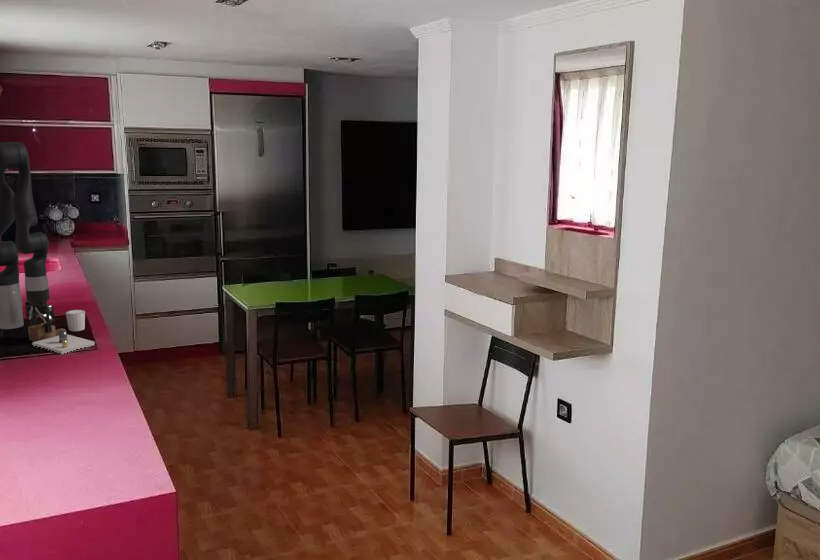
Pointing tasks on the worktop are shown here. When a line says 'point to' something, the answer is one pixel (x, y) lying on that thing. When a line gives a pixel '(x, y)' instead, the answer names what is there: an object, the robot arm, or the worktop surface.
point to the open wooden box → (41, 332)
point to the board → (56, 346)
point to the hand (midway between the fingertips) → (41, 331)
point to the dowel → (64, 343)
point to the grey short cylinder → (76, 320)
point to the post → (62, 335)
